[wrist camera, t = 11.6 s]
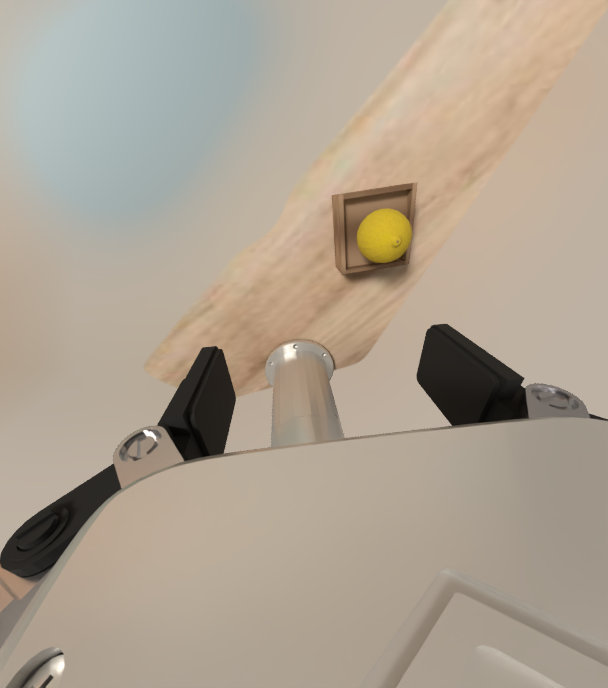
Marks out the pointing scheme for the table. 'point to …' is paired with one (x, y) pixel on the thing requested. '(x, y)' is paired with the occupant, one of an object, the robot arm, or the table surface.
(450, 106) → the table surface
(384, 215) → the lemon
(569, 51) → the table surface
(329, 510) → the robot arm
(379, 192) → the walnut tray
